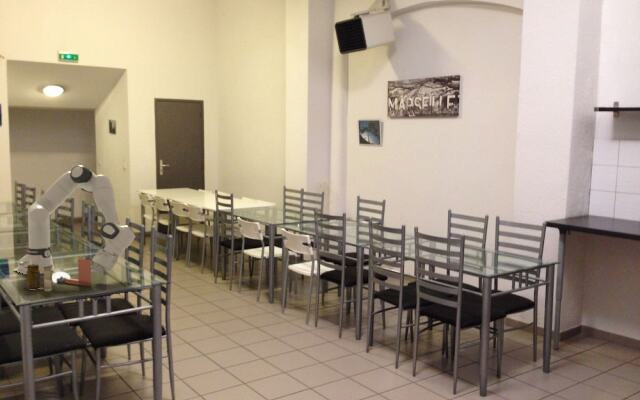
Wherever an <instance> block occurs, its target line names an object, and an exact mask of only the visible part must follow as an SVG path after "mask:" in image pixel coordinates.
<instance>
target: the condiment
mask: <svg viewBox="0 0 640 400" xmlns="http://www.w3.org/2000/svg"><path fill="white" fill-rule="evenodd" d="M27 268H28V269H27V275H26V287H27V288H28V289H38V288H40V287H41V288H40V290H45V289H44V286H41V274H40V270H39V265H35V264H34V265H28V266H27Z"/></svg>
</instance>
